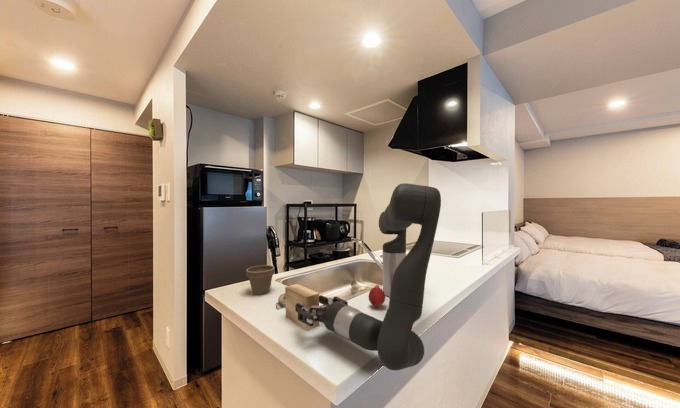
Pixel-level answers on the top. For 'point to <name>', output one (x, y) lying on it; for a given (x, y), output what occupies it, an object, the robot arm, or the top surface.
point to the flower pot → (260, 278)
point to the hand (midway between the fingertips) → (308, 302)
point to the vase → (280, 301)
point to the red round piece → (376, 296)
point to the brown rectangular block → (302, 297)
